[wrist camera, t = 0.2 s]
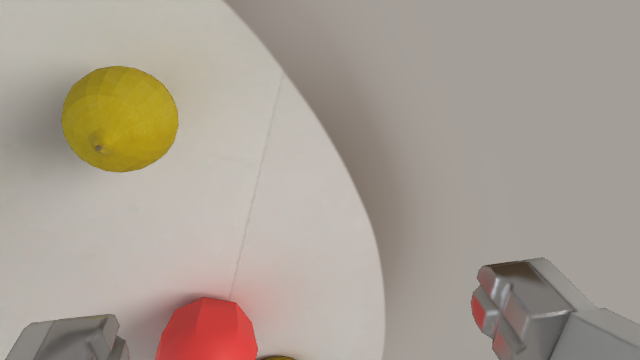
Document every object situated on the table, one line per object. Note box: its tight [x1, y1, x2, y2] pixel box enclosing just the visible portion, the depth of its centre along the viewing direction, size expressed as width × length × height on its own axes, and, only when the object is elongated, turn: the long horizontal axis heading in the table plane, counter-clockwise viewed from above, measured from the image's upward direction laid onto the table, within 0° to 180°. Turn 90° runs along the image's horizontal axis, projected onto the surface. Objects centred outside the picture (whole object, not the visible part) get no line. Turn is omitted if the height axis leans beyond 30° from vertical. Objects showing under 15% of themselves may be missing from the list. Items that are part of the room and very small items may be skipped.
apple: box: [155, 297, 258, 360], centre depth 30 cm, size 8×8×8 cm
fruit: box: [62, 66, 178, 172], centre depth 21 cm, size 6×6×8 cm
